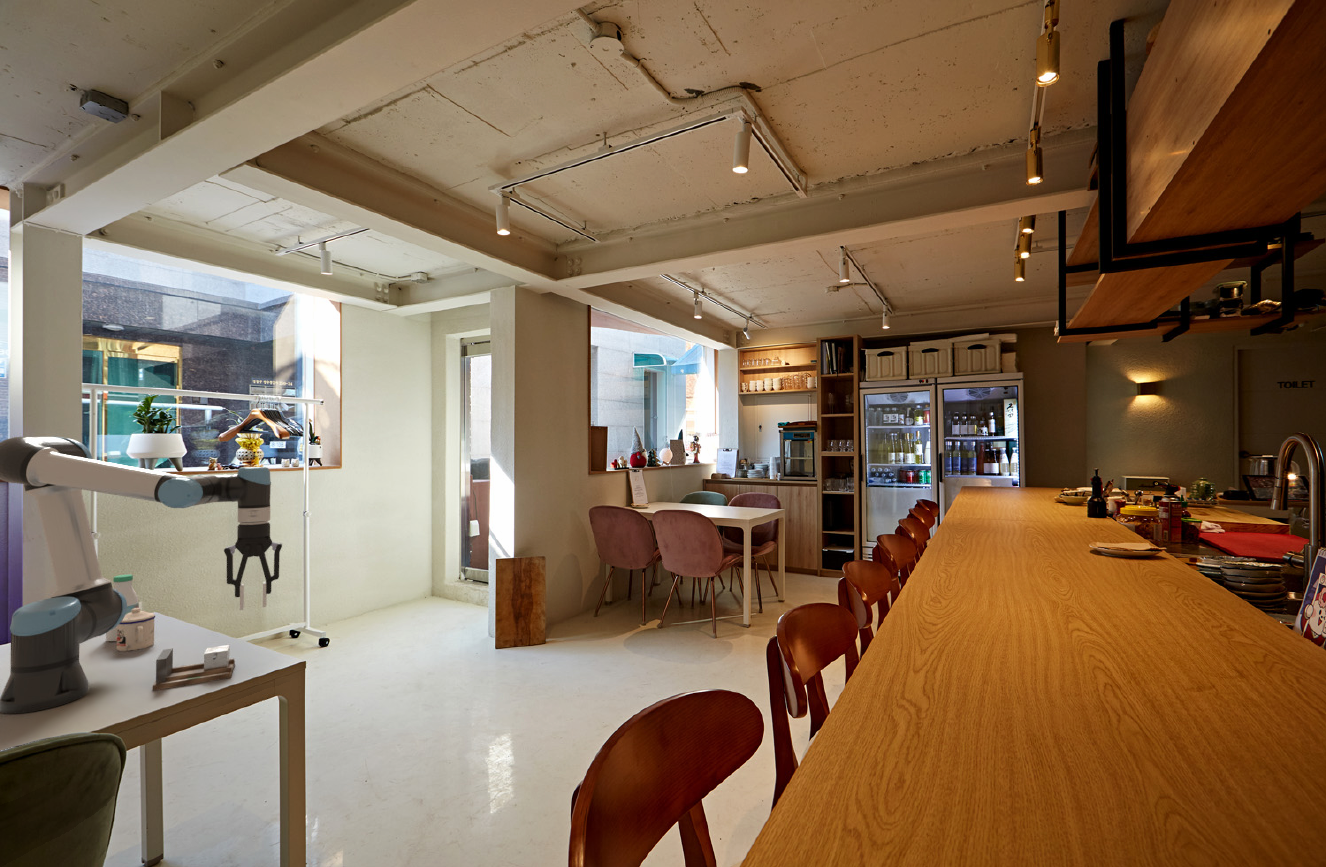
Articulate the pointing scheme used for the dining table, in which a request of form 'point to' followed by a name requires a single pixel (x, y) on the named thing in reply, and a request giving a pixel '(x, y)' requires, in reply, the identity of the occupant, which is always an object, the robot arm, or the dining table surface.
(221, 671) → the gauge board
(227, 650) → the white box
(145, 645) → the teacup with lid
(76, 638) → the robot arm
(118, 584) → the milk bottle
